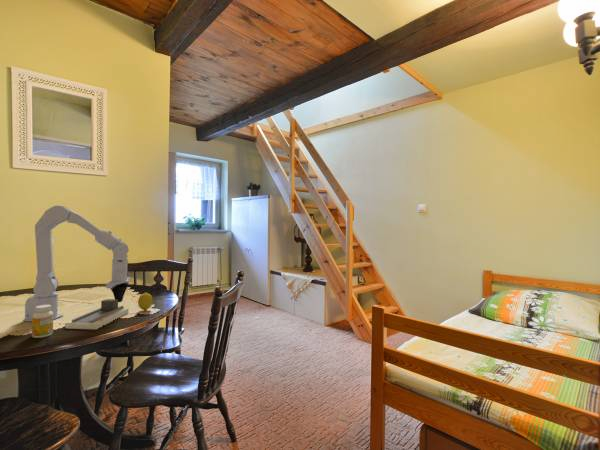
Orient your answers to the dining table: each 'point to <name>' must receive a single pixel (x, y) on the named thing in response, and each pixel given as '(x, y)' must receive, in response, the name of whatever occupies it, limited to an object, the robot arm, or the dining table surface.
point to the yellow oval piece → (145, 301)
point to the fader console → (96, 318)
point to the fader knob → (109, 304)
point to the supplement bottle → (42, 321)
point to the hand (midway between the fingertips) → (118, 301)
